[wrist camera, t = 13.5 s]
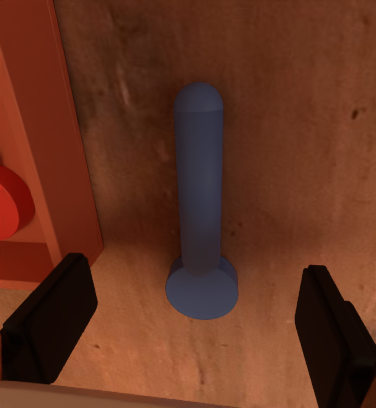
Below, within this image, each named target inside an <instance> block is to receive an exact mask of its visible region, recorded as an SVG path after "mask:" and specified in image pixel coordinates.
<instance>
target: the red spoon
mask: <svg viewBox="0 0 376 408" xmlns="http://www.w3.org/2000/svg"><path fill="white" fill-rule="evenodd" d="M34 212H35V205H34V202H33V198H32V195H31V192H30V190H29V188H28V186H27V185H26V184H25V182H24V181H23V180H22V179H21V178H20V177H19V176H18V175H17V174H16V173H14V172H13V171H12V170H10V169H8V168H7V167H5V166H3V165H0V240H4V239H8V238H10V237H11V236H13V235H14V234H15V233H17V232H18V231H19V230H21V229H22V228H23V227H25V226H26V225H27V224H29V223H30V221H31V220H32V218H33V216H34Z"/></svg>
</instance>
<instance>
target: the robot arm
mask: <svg viewBox="0 0 376 408" xmlns="http://www.w3.org/2000/svg"><path fill="white" fill-rule="evenodd" d="M97 305H98V301H97V296H96V292H95V288H94V283H93V279H92V275H91V270H90V266H89V262H88V258H87V257H86V256H84V254H83V253H72V252H71V253H68V254H67V255H66V256H65V257H64V258H63V259H62V261H61V262H60V263H59V264H58V265H57V266H56V267H55V268H54V269H53V270H52V271H51V272H50V274H49V275H48V276H47V277H46V278H45V279H44V280H43V281H42V282H41V283H40V284H39V286H38V287H37V288H36V289H35V290H34V291H33V292H32V293H31V294H30V295H29V296H28V297H27V299H26V300H25V301H24V302H23V303H22V304H21V305H20V306H19V307H18V308H17V309H16V310H15V312H14V313H13V314H12V315H11V316H10V317H9V318H8V319H7V320H6V321H5V322H4V324H3V328H2V329H1V330H0V408H237V407H230V406H222V405H214V404H206V403H199V402H191V401H183V400H175V399H166V398H158V397H150V396H142V395H134V394H126V393H117V392H109V391H101V390H92V389H83V388H75V387H66V386H58V385H50V384H51V383H54V382H55V380H56V379H57V377H58V376H59V374H60V372H61V370H62V369H63V367H64V365H65V363H66V362H67V360H68V358H69V356H70V354H71V353H72V351H73V349H74V347H75V346H76V344H77V342H78V340H79V339H80V337H81V335H82V333H83V332H84V330H85V328H86V326H87V325H88V323H89V321H90V319H91V318H92V316H93V314H94V312H95V311H96V309H97ZM295 326H296V329H297V333H298V336H299V340H300V343H301V347H302V350H303V354H304V358H305V361H306V365H307V368H308V372H309V375H310V379H311V382H312V386H313V389H314V393H315V396H316V400H317V403H318V407H319V408H376V344H375V343H374V341H373V339H372V337H371V336H370V334H369V332H368V330H367V329H366V327H365V325H364V323H363V322H362V320H361V318H360V316H359V315H358V313H357V311H356V309H355V307H354V306H353V304H352V303H351V302H350V301H344V299H343V297H342V296H341V294H340V292H339V290H338V288H337V286H336V284H335V283H334V281H333V279H332V277H331V275H330V273H329V271H328V270H327V268H326V266H324V265H309V266H308V268H304V270H303V274H302V280H301V285H300V291H299V296H298V302H297V307H296V313H295Z"/></svg>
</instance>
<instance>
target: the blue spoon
mask: <svg viewBox="0 0 376 408" xmlns="http://www.w3.org/2000/svg"><path fill="white" fill-rule="evenodd" d="M173 110H174V128H175V146H176V165H177V183H178V201H179V219H180V237H181V255H182V256H180V257H179V258H177V259H176V260H175V261H174V263H173V264H172V266H171V268H170V272H169V275H168V278H167V282H166V286H165V291H166V295H167V298H168V300H169V302H170V303H171V305H172V306H173V307H174V308H175V309H176V310H177V311H179V312H180V313H182V314H184V315H186V316H188V317H191V318H195V319H201V320H210V319H216V318H219V317H222V316H224V315H226V314H227V313H229V312H230V311H231V310H232V309H233V308H234V306H235V304H236V302H237V299H238V282H237V274H236V271H235V269H234V267H233V266H232V265H231V263H230V262H229V261H228V260H226V259H225V258H224V257H222V256H220V245H221V198H222V151H223V101H222V98H221V96H220V94H219V92H218V91H217V90H216V89H215V88H214V87H213V86H211V85H210V84H208V83H205V82H193V83H190V84H188V85H186V86H184V87H183V88H182V89H181V90H180V91H179V93H178V94H177V96H176V98H175V101H174V109H173Z"/></svg>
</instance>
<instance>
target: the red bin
mask: <svg viewBox="0 0 376 408" xmlns="http://www.w3.org/2000/svg"><path fill="white" fill-rule="evenodd" d="M0 165H3V166H5V167H7V168H8V169H10V170H12V171H13V172H14V173H16V174H17V175H18V176H19V177H20V178H21V179H22V180H23V181H24V182H25V184H26V185H27V186H28V188H29V190H30V192H31V195H32V198H33V202H34V205H35V212H34V216H33V218H32V220H31V221H30V223H29V224H27V225H26V226H25V227H23V228H22V229H21V230H19V231H18V232H17V233H15V234H14V235H13V236H11V237H10V238H8V239H4V240H0V288H7V289H20V290H33V291H34V290H35V289H36V288H37V287H38V286H39V284H40V283H41V282H42V281H43V280H44V279H45V278H46V277H47V276H48V275H49V274H50V272H51V271H52V270H53V269H54V268H55V267H56V266H57V265H58V264H59V263H60V262H61V261H62V259H63V258H64V257H65V256H66V255H67V254H68V253H71V252H72V253H83V254H84V256H86V257H87V258H88V262H89V266H90V268H91V266H92V265H93V264H94V262H95V261H96V259H97V258H98V257H99V255H100V253H101V252H102V251H103V250H104V247H103V242H102V237H101V232H100V227H99V222H98V217H97V213H96V208H95V203H94V198H93V193H92V188H91V183H90V178H89V174H88V169H87V164H86V159H85V154H84V149H83V144H82V139H81V134H80V130H79V125H78V120H77V115H76V110H75V105H74V100H73V95H72V91H71V86H70V81H69V76H68V71H67V66H66V61H65V56H64V52H63V47H62V42H61V37H60V32H59V27H58V22H57V17H56V12H55V8H54V3H53V0H0Z"/></svg>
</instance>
